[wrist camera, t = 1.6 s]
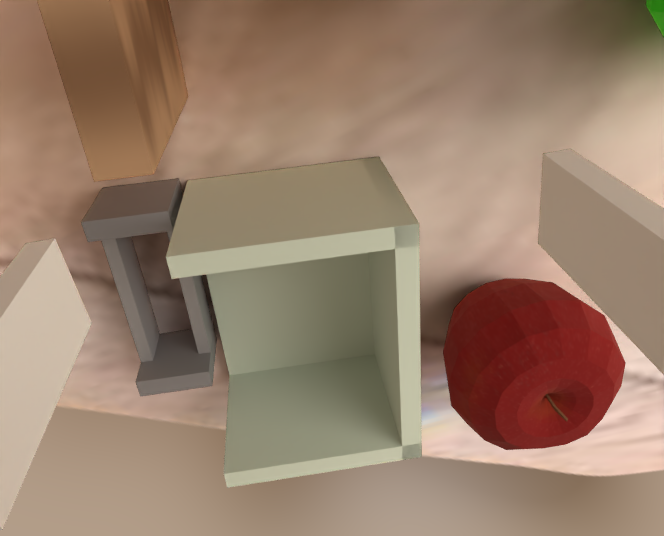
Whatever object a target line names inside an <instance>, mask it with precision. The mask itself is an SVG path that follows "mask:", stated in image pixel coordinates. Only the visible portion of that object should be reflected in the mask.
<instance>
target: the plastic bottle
mask: <svg viewBox="0 0 664 536" xmlns="http://www.w3.org/2000/svg"><path fill="white" fill-rule="evenodd" d="M646 6H647V8H648V10H649V12H650V14H651V15H652V17H653V19H654V21H655V23H656V25H657V26H658V28H659V30H660V32H661V34H662V35H663V37H664V0H646Z"/></svg>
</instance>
